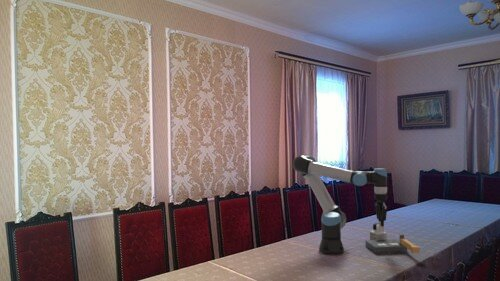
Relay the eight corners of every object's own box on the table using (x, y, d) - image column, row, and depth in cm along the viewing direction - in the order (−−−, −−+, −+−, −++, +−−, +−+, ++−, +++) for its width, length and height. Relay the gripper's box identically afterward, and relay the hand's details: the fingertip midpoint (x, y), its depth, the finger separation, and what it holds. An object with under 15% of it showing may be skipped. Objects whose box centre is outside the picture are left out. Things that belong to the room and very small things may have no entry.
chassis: (375, 253, 209) (375, 246, 209) (365, 246, 224) (365, 240, 224) (408, 252, 210) (408, 245, 210) (396, 245, 225) (396, 238, 225)
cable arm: (397, 242, 216) (397, 234, 216) (404, 242, 216) (404, 234, 216) (412, 253, 195) (412, 243, 195) (419, 253, 195) (419, 243, 195)
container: (369, 242, 233) (369, 223, 233) (379, 241, 235) (378, 222, 236) (377, 245, 225) (377, 225, 226) (387, 244, 228) (386, 224, 228)
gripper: (391, 194, 208) (392, 233, 208) (381, 191, 221) (382, 228, 221) (379, 194, 207) (380, 234, 207) (370, 191, 220) (371, 228, 220)
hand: (381, 231), depth 214 cm, fingers closed
